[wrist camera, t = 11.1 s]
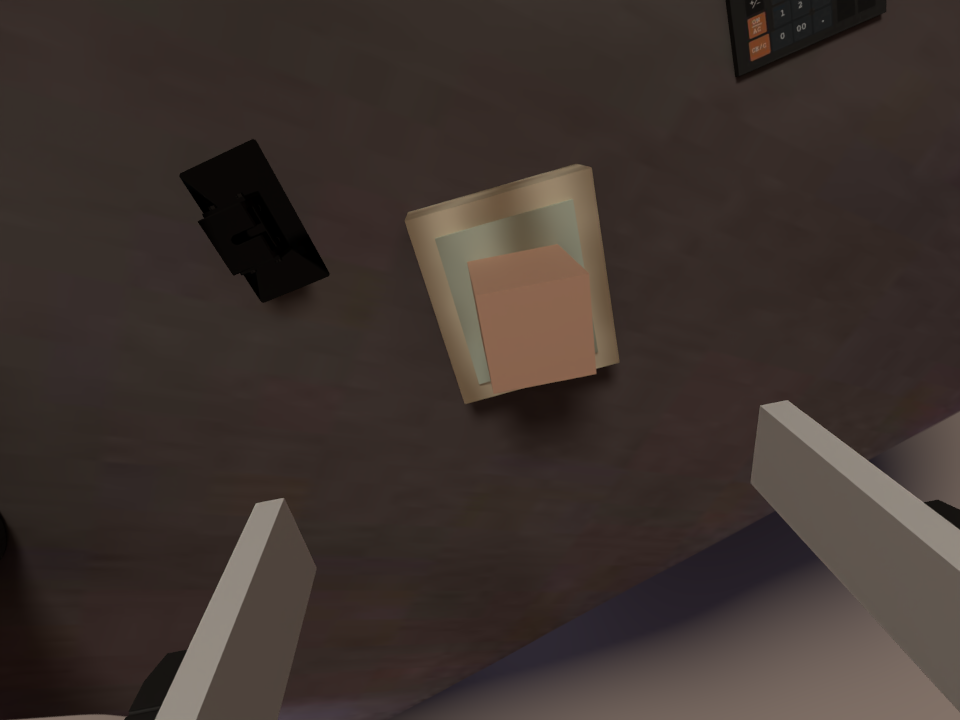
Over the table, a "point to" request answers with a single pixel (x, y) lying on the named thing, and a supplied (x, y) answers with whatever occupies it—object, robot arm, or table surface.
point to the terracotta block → (534, 317)
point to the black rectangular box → (253, 222)
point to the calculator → (789, 26)
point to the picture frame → (502, 230)
